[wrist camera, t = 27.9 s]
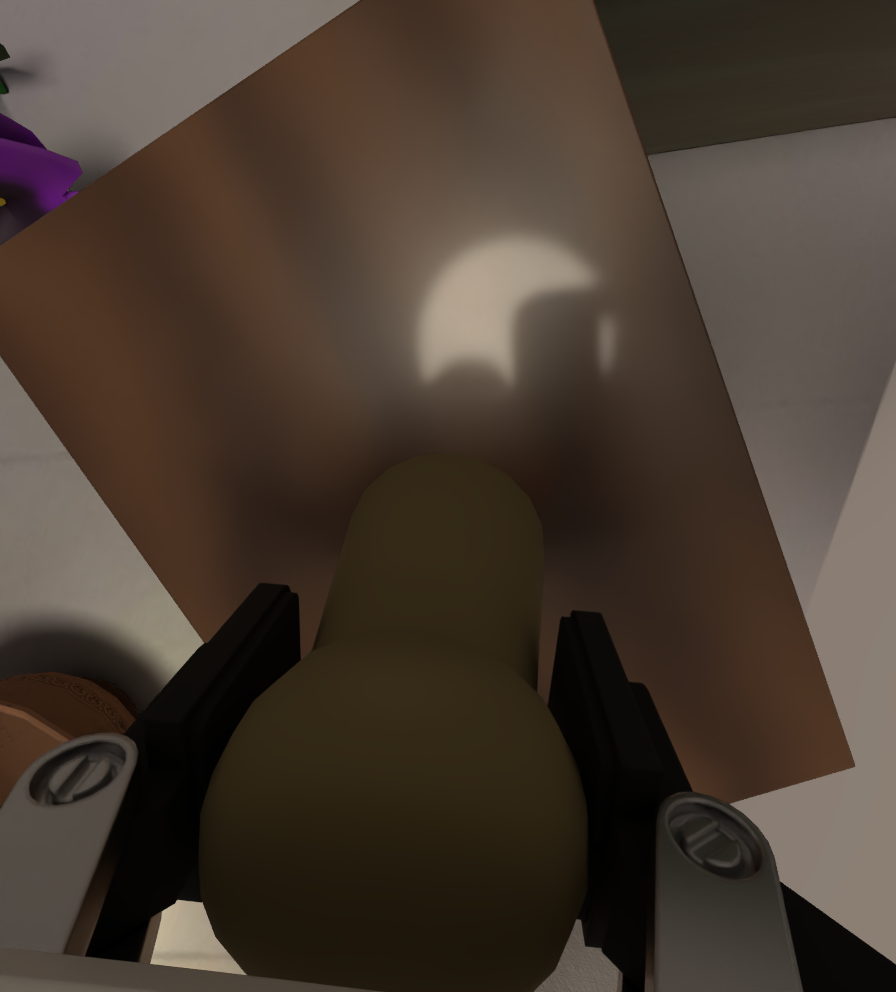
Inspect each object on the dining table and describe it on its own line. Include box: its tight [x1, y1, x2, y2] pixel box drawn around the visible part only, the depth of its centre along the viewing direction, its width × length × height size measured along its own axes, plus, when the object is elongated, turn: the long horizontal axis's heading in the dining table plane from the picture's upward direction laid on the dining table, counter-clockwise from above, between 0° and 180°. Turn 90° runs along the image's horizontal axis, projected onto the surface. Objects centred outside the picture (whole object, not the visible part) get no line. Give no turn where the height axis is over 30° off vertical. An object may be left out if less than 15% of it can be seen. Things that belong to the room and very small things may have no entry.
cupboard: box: [0, 0, 855, 804], centre depth 28 cm, size 18×26×24 cm
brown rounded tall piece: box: [198, 453, 590, 992], centre depth 11 cm, size 6×6×11 cm
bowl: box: [0, 672, 139, 806], centre depth 45 cm, size 22×22×11 cm
